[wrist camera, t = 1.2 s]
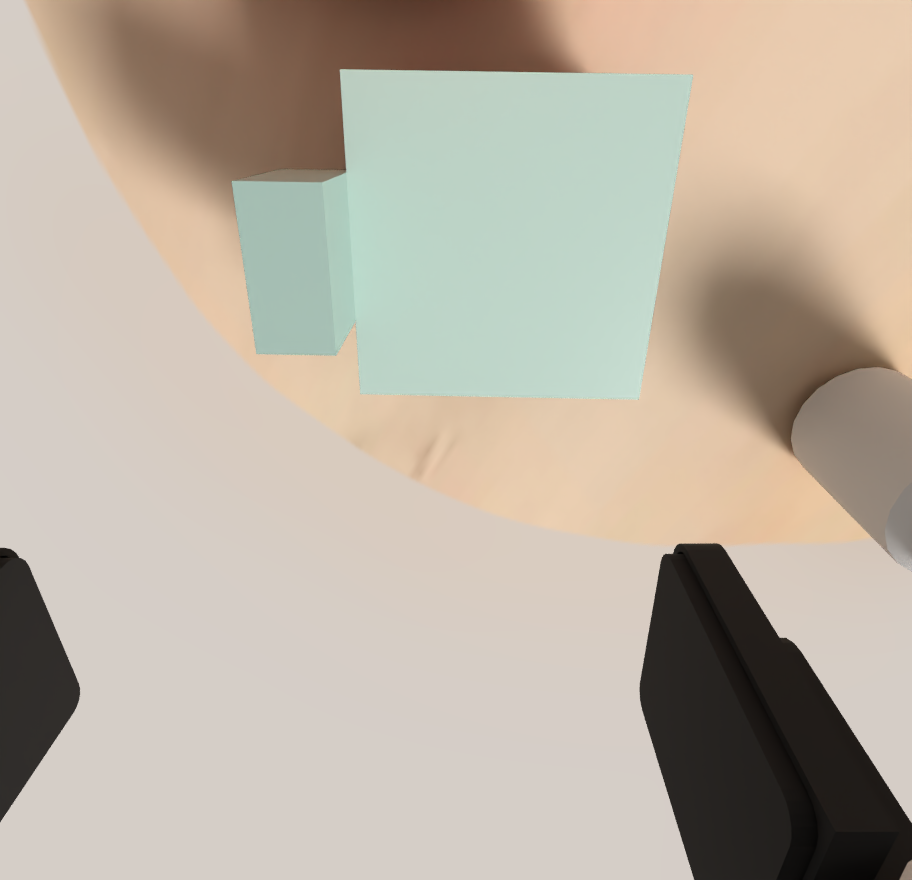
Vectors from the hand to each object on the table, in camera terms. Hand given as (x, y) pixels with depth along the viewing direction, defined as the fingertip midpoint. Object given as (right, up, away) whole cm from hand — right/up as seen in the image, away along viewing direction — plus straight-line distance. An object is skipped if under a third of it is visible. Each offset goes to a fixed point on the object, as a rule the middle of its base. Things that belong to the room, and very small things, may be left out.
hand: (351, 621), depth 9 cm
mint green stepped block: (+2, +12, +18) cm, 22 cm away
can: (+26, +4, +28) cm, 39 cm away
